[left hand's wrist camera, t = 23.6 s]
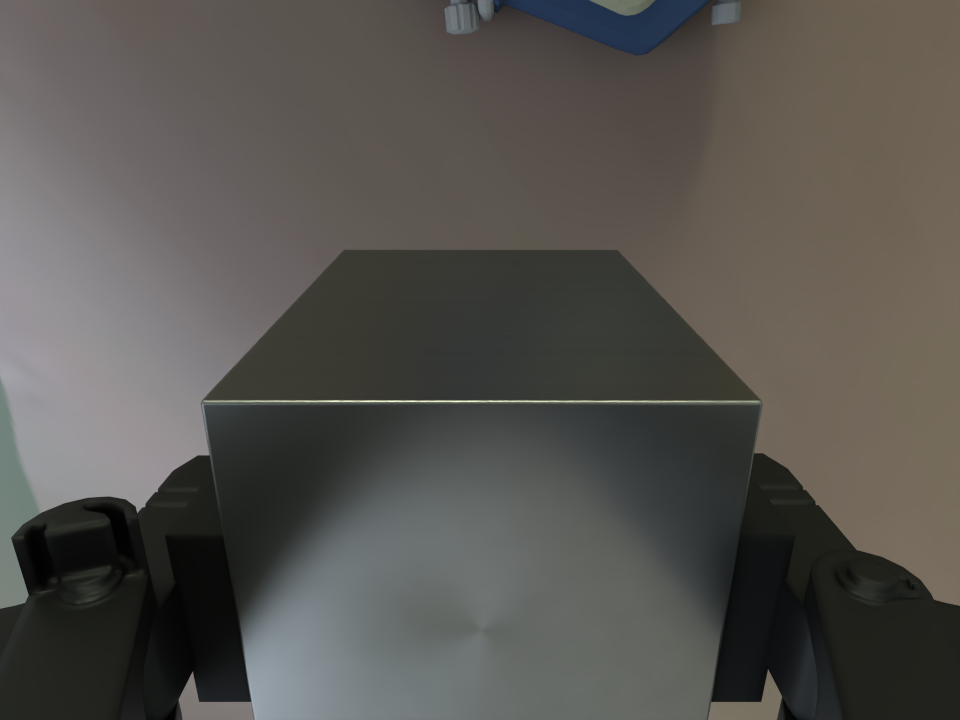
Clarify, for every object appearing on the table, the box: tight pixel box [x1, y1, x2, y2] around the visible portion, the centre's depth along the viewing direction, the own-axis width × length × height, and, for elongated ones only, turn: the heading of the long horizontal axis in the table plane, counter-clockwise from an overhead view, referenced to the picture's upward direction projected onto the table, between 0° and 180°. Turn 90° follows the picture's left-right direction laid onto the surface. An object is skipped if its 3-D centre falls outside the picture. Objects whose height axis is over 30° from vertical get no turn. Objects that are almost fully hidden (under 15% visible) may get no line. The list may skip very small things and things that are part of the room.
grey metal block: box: [201, 250, 762, 720], centre depth 12 cm, size 6×6×8 cm
